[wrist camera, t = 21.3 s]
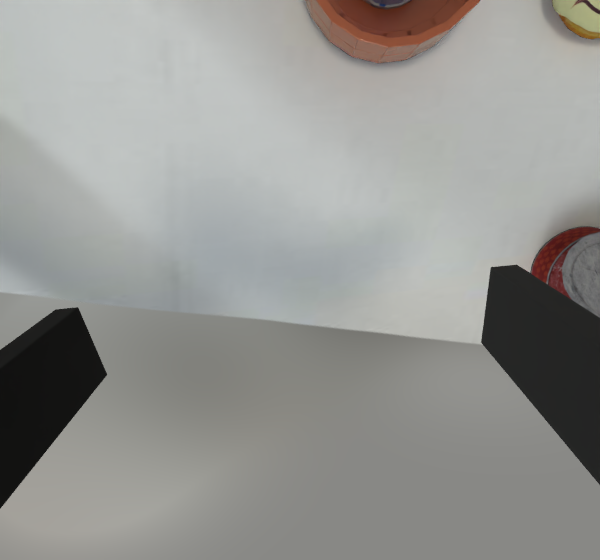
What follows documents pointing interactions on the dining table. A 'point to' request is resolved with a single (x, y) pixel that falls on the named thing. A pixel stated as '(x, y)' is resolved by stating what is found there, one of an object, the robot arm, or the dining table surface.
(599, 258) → the canned food
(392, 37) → the bowl
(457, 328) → the dining table surface
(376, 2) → the aerosol can
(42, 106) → the dining table surface
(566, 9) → the decorated donut
